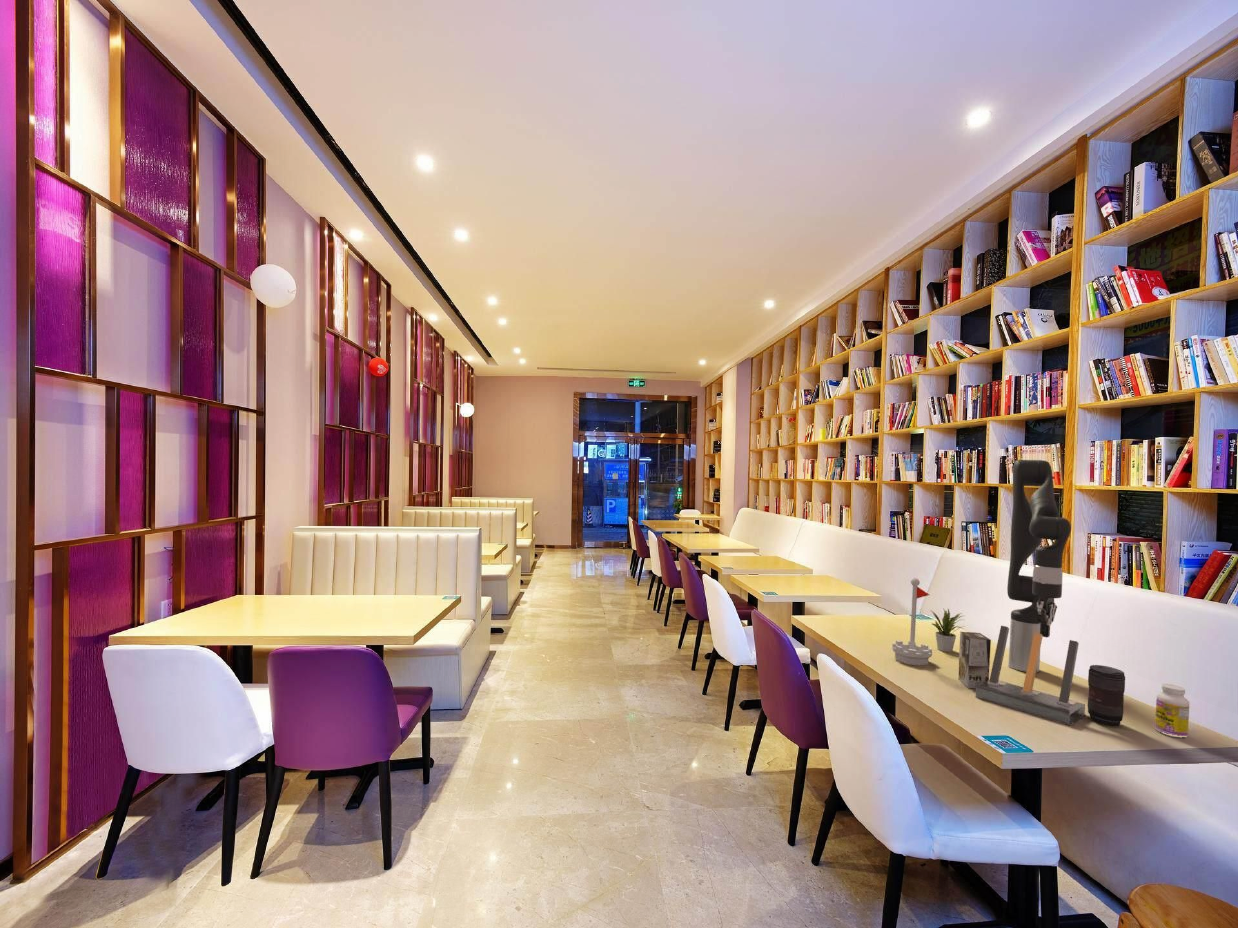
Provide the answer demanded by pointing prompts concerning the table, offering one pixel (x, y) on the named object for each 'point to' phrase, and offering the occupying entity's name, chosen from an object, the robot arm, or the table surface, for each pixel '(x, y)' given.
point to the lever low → (998, 657)
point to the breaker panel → (1031, 702)
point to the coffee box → (974, 659)
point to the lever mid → (1032, 665)
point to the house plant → (946, 631)
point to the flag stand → (913, 636)
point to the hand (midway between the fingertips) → (1044, 636)
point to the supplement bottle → (1172, 711)
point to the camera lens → (1106, 695)
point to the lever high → (1068, 674)
